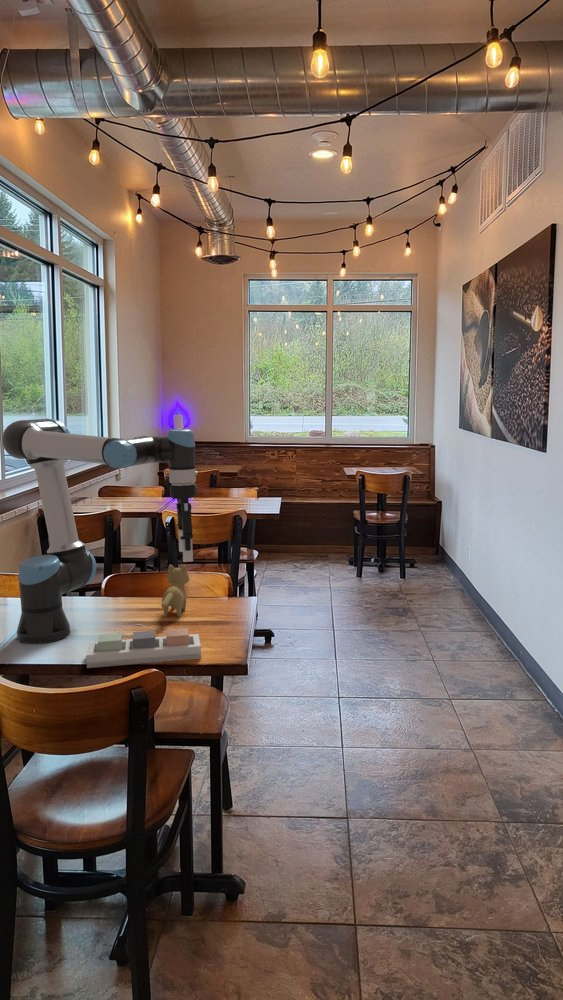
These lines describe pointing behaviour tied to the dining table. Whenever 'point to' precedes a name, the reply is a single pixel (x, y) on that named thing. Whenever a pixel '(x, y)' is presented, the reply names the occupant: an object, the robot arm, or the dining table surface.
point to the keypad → (143, 653)
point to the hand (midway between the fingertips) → (185, 556)
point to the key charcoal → (144, 639)
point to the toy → (176, 590)
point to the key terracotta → (177, 636)
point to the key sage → (110, 641)
